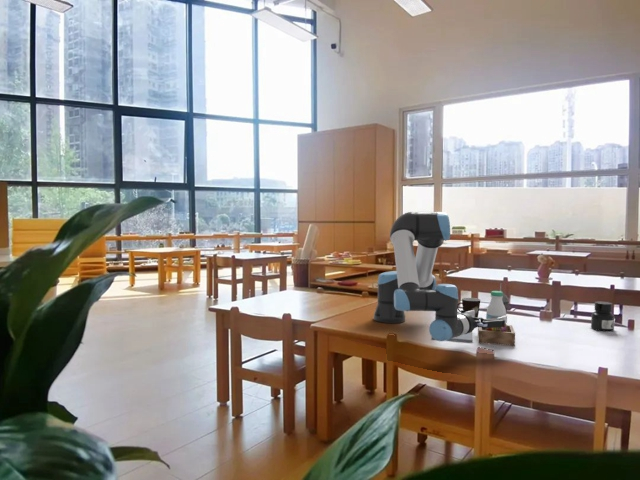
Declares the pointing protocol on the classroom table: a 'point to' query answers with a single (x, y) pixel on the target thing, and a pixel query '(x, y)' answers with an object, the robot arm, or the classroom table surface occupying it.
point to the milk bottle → (496, 309)
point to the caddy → (497, 336)
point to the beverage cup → (505, 300)
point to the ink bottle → (602, 316)
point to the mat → (463, 338)
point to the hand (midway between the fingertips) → (489, 316)
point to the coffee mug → (470, 305)
